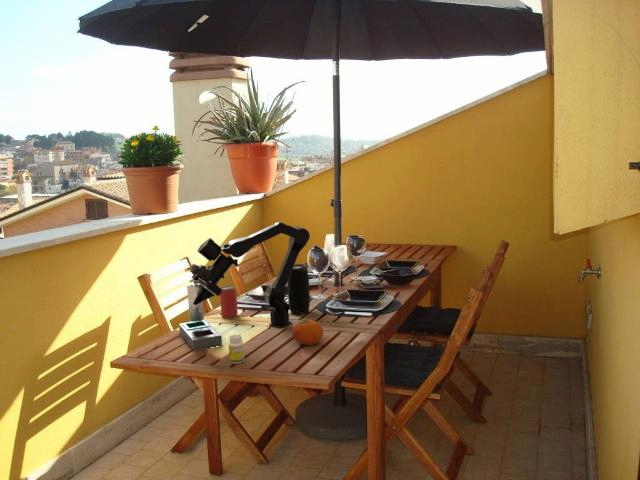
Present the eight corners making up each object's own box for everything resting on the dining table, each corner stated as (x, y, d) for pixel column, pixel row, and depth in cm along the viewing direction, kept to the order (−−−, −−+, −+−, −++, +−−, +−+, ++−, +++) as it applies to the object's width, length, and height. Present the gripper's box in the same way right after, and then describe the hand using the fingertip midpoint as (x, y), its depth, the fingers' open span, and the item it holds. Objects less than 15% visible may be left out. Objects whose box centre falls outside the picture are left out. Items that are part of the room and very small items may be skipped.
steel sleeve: (206, 318, 231) (203, 284, 228) (197, 322, 226) (194, 287, 224) (196, 317, 233) (193, 282, 231) (187, 320, 229) (184, 285, 227)
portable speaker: (286, 315, 255) (283, 268, 252) (293, 308, 264) (290, 263, 261) (306, 316, 253) (304, 268, 249) (313, 309, 262) (310, 263, 258)
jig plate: (222, 346, 221) (221, 334, 220) (194, 351, 217) (193, 339, 216) (205, 329, 241) (205, 318, 240) (179, 334, 236) (178, 322, 236)
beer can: (234, 318, 253) (232, 289, 251) (219, 318, 255) (217, 289, 253) (239, 314, 260) (238, 285, 258) (224, 313, 261) (222, 285, 259)
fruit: (327, 339, 223) (326, 318, 222) (317, 349, 213) (316, 327, 212) (299, 337, 227) (298, 316, 225) (288, 347, 217) (287, 325, 216)
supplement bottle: (230, 359, 208) (228, 334, 206) (244, 358, 208) (243, 333, 207) (229, 364, 203) (227, 339, 202) (244, 363, 203) (242, 338, 202)
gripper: (195, 251, 236) (168, 284, 233) (210, 259, 220) (182, 295, 216) (216, 269, 241) (190, 302, 238) (233, 278, 224) (205, 313, 221)
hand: (191, 302), depth 228 cm, fingers closed on steel sleeve, 5 cm apart
